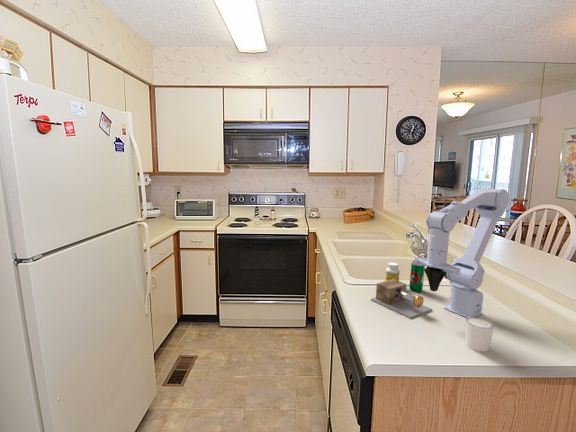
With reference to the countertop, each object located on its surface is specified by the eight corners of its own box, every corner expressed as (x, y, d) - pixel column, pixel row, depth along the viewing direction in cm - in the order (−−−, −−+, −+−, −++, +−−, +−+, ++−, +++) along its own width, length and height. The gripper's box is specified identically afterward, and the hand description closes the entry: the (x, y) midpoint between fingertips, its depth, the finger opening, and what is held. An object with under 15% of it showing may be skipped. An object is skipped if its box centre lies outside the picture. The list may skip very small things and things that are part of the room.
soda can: (423, 293, 127) (426, 263, 125) (410, 291, 128) (412, 262, 126) (421, 288, 132) (423, 260, 130) (408, 287, 133) (410, 259, 131)
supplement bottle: (399, 285, 134) (401, 263, 133) (396, 289, 130) (398, 266, 129) (387, 282, 137) (388, 261, 136) (383, 286, 133) (384, 264, 131)
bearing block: (405, 299, 118) (406, 284, 117) (388, 304, 113) (389, 288, 112) (392, 294, 123) (393, 279, 122) (375, 298, 118) (376, 283, 117)
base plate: (432, 310, 111) (432, 309, 111) (410, 318, 104) (410, 316, 104) (392, 294, 125) (392, 292, 125) (370, 300, 118) (371, 298, 118)
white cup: (457, 339, 92) (460, 316, 91) (480, 339, 93) (482, 316, 91) (473, 353, 85) (476, 328, 84) (497, 352, 86) (500, 328, 85)
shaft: (423, 306, 109) (424, 295, 109) (415, 308, 107) (416, 297, 106) (398, 296, 117) (399, 285, 117) (391, 298, 115) (392, 287, 115)
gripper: (410, 245, 105) (406, 285, 107) (453, 256, 93) (448, 300, 95) (423, 243, 109) (419, 281, 111) (465, 253, 97) (461, 296, 99)
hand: (433, 290), depth 103 cm, fingers closed
